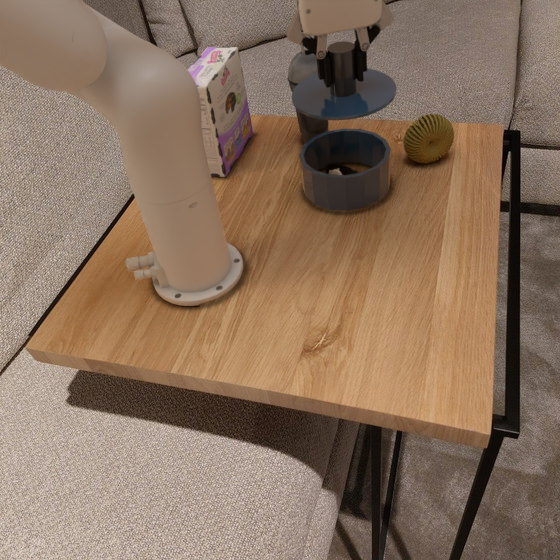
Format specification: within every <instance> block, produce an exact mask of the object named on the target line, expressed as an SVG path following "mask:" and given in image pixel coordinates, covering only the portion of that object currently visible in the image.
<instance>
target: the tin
mask: <svg viewBox="0 0 560 560" xmlns="http://www.w3.org/2000/svg"><path fill="white" fill-rule="evenodd" d="M391 155H392V149H391V146H390V145H389V143H388V140H387V139H386V138H385V137H383V136H381V135H380V134H379V133H376V132H375V131H370V130H366V129H363V128H338V129H333V130H328V131H327V132H324V133H322V134H320V135H317V136H315V137H313V138H312V139H310V140H309V141H308V142H307V143H306V144H305V143H304V144H303V145H302V147H301V149H300V152H299V154H298V157H299V166H300V176H301V177H300V178H301V185H302V190H303V193H304V197H305V198H306V199H308V200H309V201H310V202H311V203H312V204H313V205H315V206H317V207H319V208H320V207H321V208H323V209H326V210H330V211H343V212H348V211H354V210H359V209H360V210H361V209H365V208H367V207H369V206H372V205H374V204H375V203H377V202H380V201H381V200H382V199H383V198H384V197H385V196H386V195H387V193H389V189H390V186H391V169H392V167H391V163H392V162H391V161H392V158H391ZM331 163H335V164H343V163H347V164H349V163H352V164H362V165H365V166H369V167H370V168H368V169H366V170H363V171H361V172H358V173H355V174H350V175H331V174H326V172H322V171H320V170H323V169H326V166H327V165H328V164H331Z"/></svg>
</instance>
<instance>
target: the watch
mask: <svg viewBox="0 0 560 560" xmlns="http://www.w3.org/2000/svg"><path fill="white" fill-rule="evenodd" d="M325 173H326V174H331V175H350V174H355V173H359V171H358V170H354V169H353V168H351V167H349V166H347V165H344V164H342V163H339V164H335V163H331V164H328V165H327V166H326V167H325Z"/></svg>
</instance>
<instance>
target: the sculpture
mask: <svg viewBox="0 0 560 560" xmlns="http://www.w3.org/2000/svg"><path fill="white" fill-rule="evenodd" d="M454 139H455V129H454V126H453V125H452V123H451V121H450V120H449V119H448V118H446V117H445V116H443V115H441V114H438V113H437V114H435V113H430V114H425V115H422V116H420V117H418V118H417V119H415V120H414V121H413V122H412V123H411V124H410V125H408V128H407V129H406V130H405V133H404V136H403V140H402V144H403V150H404V152H405V154H406V156H407V157H408V158H409V159H410V160H412V161H413V162H414V163H418V164H431V163H434V162H436V161H439V160H440V159H442V158H443V157H444V156H445V155H446V154H448V152H449V151H450V149H451V147H452V146H453V143H454Z"/></svg>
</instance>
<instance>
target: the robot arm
mask: <svg viewBox="0 0 560 560" xmlns="http://www.w3.org/2000/svg"><path fill="white" fill-rule="evenodd" d="M394 21H395V16H394V15H393V14H392V12H391V10H390V9H389V7H388V5H387V4H386V3H385V1H384V0H295V12H294V14H293V17H292V19H291V21H290V23H289V26H288V28H287V30H286V33H285V34H286V38H287V40H288V42H289V41H290V42H291V43H294V44H296V45H299V46H300V45H302V46H304V49H305V50H309V51H310V52H312V53H313V54H314V55H316V57H317V69H318V77H319V80H322V79H323V81H324V83H325V85H326V88H328V87H331V86H332V80H331V64H330V58H329V56H328V54H327V47H328V46H327V45H328V35H329V34H335V33H340V32H346V31H351V30H353V32H354V38H355V41H354V42H353V44H354V45H355V58H356V79H357V81H359V82H361V81H363V80H364V78H363V72H366V71H367V68H368V50H370V48H371V45H372V43H373V42H374V41H375V40H376V38H377V37H378V36H379V34H380V33H381V31H383V30H385V29H386V28H387V27H389V26H390V25H391V24H392V23H393V22H394ZM0 66H1V67H3V68H5V69H6V70H9V71H10V72H12V73H14V74H15V75H17V76H18V77H19V78H21V79H22V80H24V81H26V82H28V83H30V84H32V85H33V86H37V87H39V88H42V89H45V90H50V91H56V92H66V93H68V94H70V95H73V96H74V97H77V98H78V99H80V100H82V101H83V102H84V103H86V104H89V106H91V107H92V108H93V109H94V110H96V111H97V112H99V113H100V115H101V116H102V117H103V118H104V119H106V120H107V121H108V122H109V123H110V124H111V125H112V126H113V128H114V129H115V131H116V134H117V136H118V138H119V141H120V147H121V154H122V160H123V166H124V171H125V174H126V177H127V181H128V183H129V186H130V189H131V191H132V194H133V196H134V198H135V201H136V204H137V207H138V209H139V213H140V215H141V218H142V222H143V224H144V227H145V230H146V233H147V236H148V238H149V241H150V244H151V246H152V250H151V251H148V252H147V254H145V255H140V256H139V255H138V256H131V257H126V258H125V266H126V270H127V272H128V273H132V272H133V276H134V280H135V281H136V282H138V281H143V280H146V279H152V284H153V286H154V289H155V292H156V293H157V295H158V296H159V297H161V298H162V299H163V300H164V301H166V302H167V303H170V304H173V305H177V306H184V307H194V306H200V304H204V303H208V302H210V301H213V300H216V299H219V298H220V297H222V296H224V295H225V294H227V293H228V292H230V291H231V290H232V289H233V288H234V287H235V286H236V285H237V284H238V282H240V279H241V277H242V275H243V271H244V260H243V256H242V254H241V252H240V251H239V250H238V249H237V247H235V246H234V245H232V244H231V243H229V242H228V241H227V237H226V233H225V229H224V224H223V221H222V216H221V212H220V207H219V204H218V203H219V202H218V199H217V195H216V192H215V187H214V183H213V177H212V176H211V174H210V170H209V166H208V162H207V157H206V153H205V148H204V142H203V135H202V124H201V103H200V96H199V92H198V88H197V86H196V83H195V81H194V79H193V77H192V76H191V74H190V73H189V71H188V68H186V66H185V65H184V64H183V63H182V62H181V61H180V60H179V59H177V58H176V57H175V56H174V55H172V54H171V53H169V52H167V51H166V50H164V49H162V48H160V47H158V46H157V45H155V44H153V43H152V42H150V41H147V40H145V39H143V38H141V37H139V36H138V35H136V34H134V33H132V32H131V31H129V30H128V29H126V28H124V27H123V26H121V25H119V24H118V23H116V22H114V21H113V20H111V19H110V18H108V17H107V16H105V15H104V14H102V13H100V12H99V11H97V10H96V9H94V8H93V7H91V6H90V5H88V4H87V3H85V1H84V0H0Z"/></svg>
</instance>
